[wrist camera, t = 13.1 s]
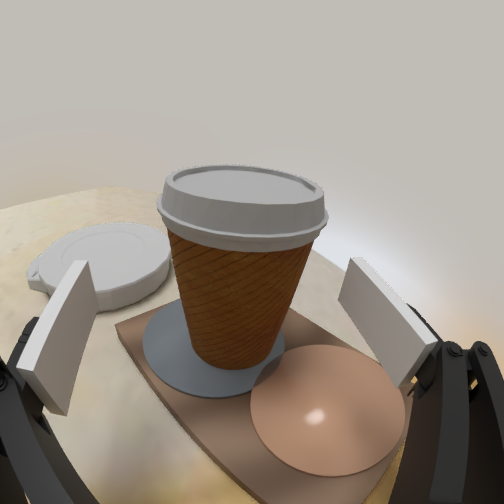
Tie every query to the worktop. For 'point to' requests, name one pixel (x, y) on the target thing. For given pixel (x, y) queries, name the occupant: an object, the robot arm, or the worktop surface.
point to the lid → (107, 262)
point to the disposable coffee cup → (238, 254)
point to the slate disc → (196, 359)
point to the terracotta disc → (327, 411)
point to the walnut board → (244, 435)
